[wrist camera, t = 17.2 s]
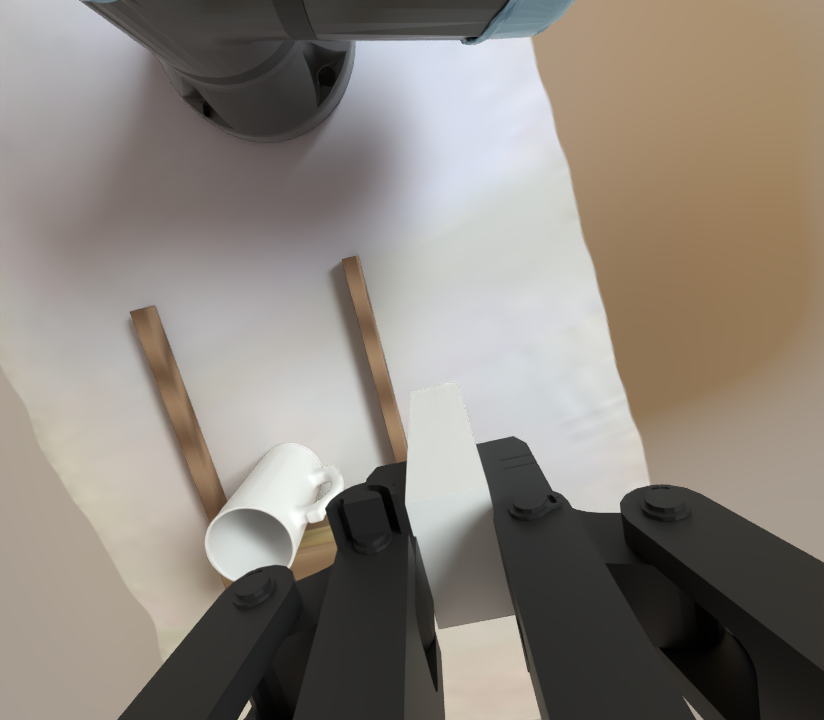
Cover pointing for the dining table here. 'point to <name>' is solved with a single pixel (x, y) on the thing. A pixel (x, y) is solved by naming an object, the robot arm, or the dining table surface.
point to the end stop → (311, 551)
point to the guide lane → (184, 413)
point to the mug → (270, 511)
